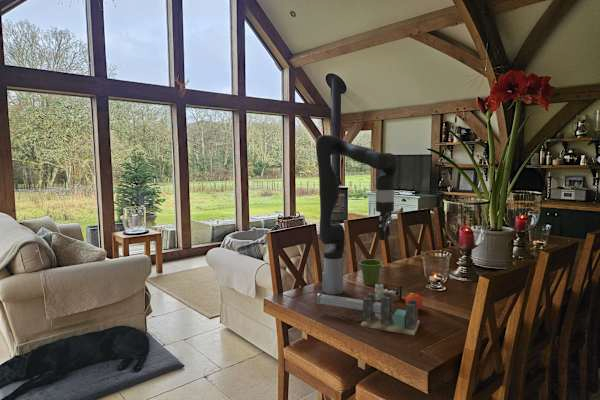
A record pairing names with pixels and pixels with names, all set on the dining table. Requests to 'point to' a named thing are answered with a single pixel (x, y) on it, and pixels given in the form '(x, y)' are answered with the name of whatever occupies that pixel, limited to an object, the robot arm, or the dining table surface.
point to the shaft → (345, 302)
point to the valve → (380, 292)
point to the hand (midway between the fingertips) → (384, 237)
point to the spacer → (400, 318)
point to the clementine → (414, 297)
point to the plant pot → (370, 271)
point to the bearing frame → (389, 315)
